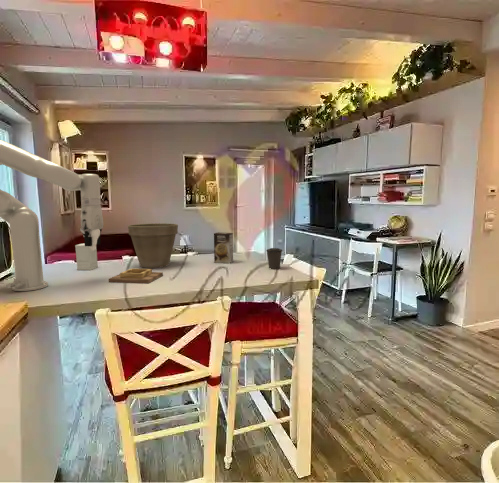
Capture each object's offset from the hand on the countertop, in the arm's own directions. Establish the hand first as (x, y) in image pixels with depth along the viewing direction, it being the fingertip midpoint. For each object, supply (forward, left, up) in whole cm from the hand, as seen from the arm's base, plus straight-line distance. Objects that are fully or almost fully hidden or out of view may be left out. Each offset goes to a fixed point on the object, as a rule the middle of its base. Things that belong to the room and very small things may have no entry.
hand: (92, 244), depth 156 cm
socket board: (+4, -17, -16) cm, 24 cm away
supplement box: (+22, +19, -16) cm, 33 cm away
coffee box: (+47, -46, -16) cm, 68 cm away
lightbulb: (0, 0, -3) cm, 3 cm away
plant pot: (+34, -12, -16) cm, 40 cm away
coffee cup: (+34, -75, -16) cm, 84 cm away
